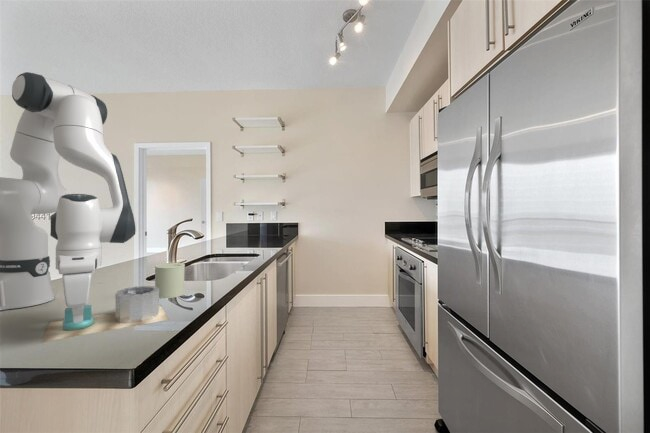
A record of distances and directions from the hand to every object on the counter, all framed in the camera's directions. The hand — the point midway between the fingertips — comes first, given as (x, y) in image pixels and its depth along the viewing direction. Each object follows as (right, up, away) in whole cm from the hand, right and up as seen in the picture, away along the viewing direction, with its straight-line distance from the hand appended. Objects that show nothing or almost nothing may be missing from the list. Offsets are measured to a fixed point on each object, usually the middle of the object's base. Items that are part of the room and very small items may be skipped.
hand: (79, 315), depth 76 cm
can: (+8, -4, +29) cm, 30 cm away
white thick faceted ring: (+10, -3, +7) cm, 13 cm away
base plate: (+5, -4, +4) cm, 8 cm away
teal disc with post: (0, -3, 0) cm, 3 cm away
